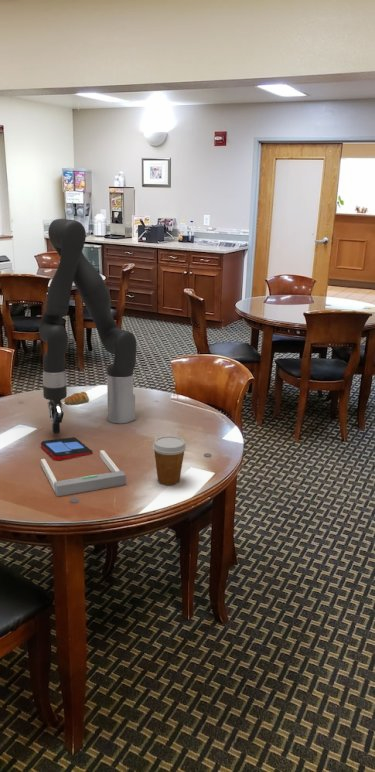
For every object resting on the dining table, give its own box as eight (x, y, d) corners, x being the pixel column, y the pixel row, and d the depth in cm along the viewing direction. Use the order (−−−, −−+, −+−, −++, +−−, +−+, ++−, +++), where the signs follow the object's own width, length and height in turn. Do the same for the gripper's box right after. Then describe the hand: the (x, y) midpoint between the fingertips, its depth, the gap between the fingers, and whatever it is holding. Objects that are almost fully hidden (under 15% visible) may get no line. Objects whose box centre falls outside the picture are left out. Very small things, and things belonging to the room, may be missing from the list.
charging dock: (103, 455, 186) (103, 445, 185) (125, 484, 168) (125, 473, 167) (41, 465, 178) (40, 455, 177) (57, 496, 160) (56, 485, 159)
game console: (93, 455, 187) (93, 448, 187) (55, 463, 181) (54, 456, 180) (75, 439, 199) (75, 433, 198) (38, 447, 192) (38, 440, 192)
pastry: (69, 407, 229) (69, 397, 228) (60, 402, 233) (60, 393, 232) (90, 402, 235) (90, 393, 233) (81, 398, 239) (81, 389, 238)
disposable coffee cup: (151, 473, 175) (152, 435, 172) (183, 473, 176) (185, 435, 172) (152, 488, 166) (153, 448, 163) (186, 487, 167) (187, 448, 163)
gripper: (71, 388, 191) (72, 438, 196) (61, 377, 202) (62, 424, 207) (47, 390, 188) (49, 441, 193) (39, 379, 199) (40, 427, 204)
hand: (56, 432), depth 200 cm, fingers closed
